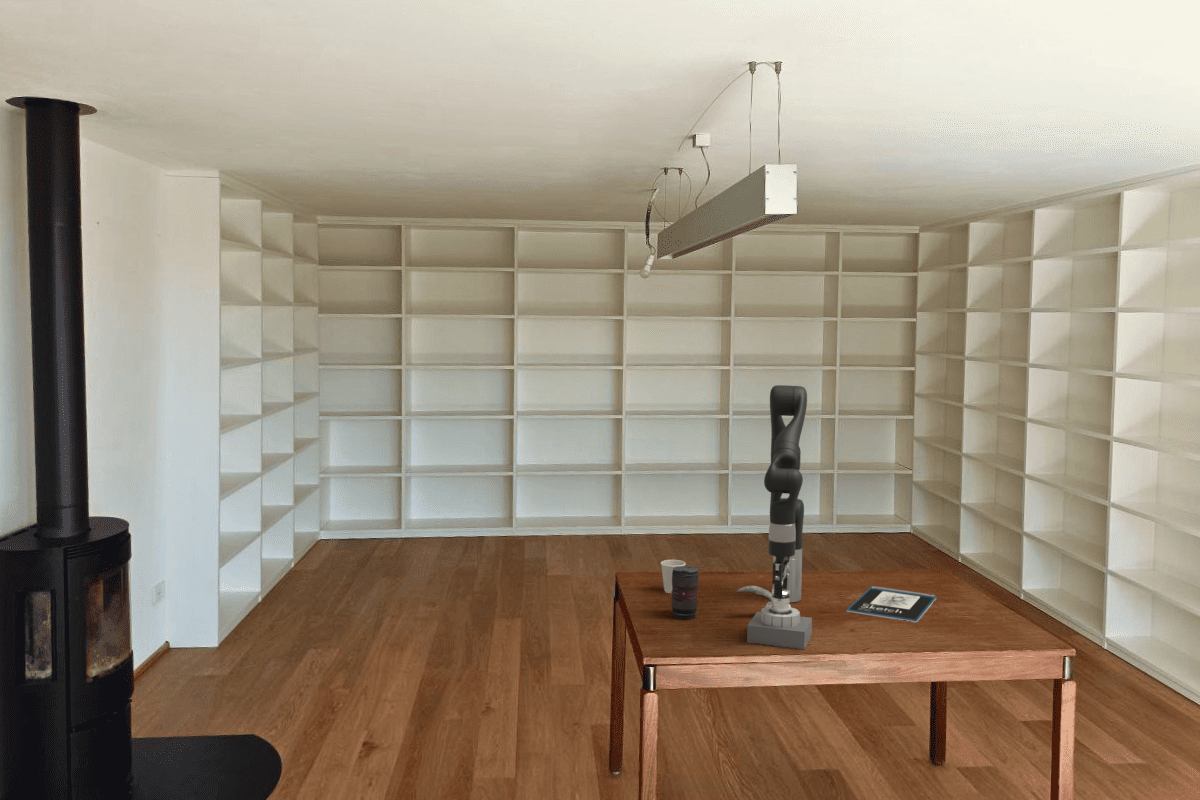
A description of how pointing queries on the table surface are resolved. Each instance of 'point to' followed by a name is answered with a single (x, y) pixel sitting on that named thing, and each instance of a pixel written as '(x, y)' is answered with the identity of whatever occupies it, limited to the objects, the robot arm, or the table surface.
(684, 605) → the camera lens
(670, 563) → the dixie cup
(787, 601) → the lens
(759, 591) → the inkwell
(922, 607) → the sketchbook
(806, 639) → the grey socket base
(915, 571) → the table surface
